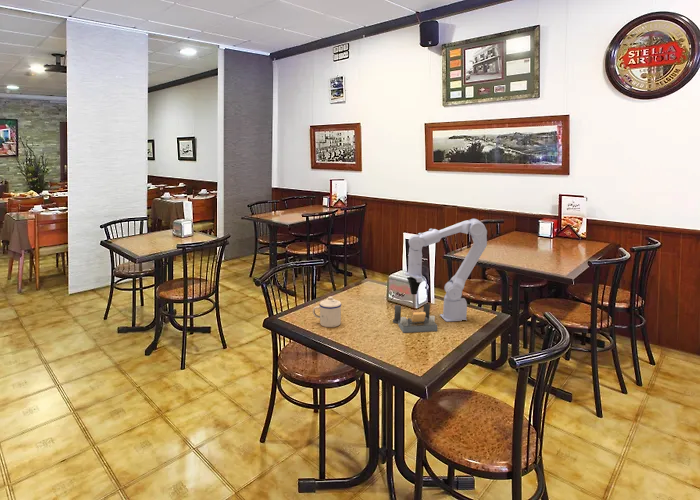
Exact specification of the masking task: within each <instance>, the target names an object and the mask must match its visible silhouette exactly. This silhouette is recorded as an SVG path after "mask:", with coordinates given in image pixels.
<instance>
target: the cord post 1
mask: <svg viewBox="0 0 700 500" xmlns="http://www.w3.org/2000/svg"><path fill="white" fill-rule="evenodd" d="M401 313H402V305H401V304H396V305H394V318H393V319H392V324H397V325H398V320H401V317H402V316H401V315H402V314H401Z"/></svg>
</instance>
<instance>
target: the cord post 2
mask: <svg viewBox="0 0 700 500" xmlns="http://www.w3.org/2000/svg"><path fill="white" fill-rule="evenodd" d="M422 310H423V311H422V312H425V313H426V316H425V317H427V318H429V316H430V311H431V305H430V304H429V303H424V304H423V309H422Z"/></svg>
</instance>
